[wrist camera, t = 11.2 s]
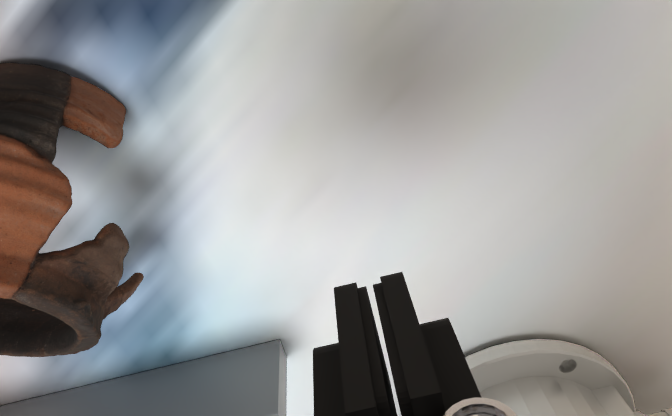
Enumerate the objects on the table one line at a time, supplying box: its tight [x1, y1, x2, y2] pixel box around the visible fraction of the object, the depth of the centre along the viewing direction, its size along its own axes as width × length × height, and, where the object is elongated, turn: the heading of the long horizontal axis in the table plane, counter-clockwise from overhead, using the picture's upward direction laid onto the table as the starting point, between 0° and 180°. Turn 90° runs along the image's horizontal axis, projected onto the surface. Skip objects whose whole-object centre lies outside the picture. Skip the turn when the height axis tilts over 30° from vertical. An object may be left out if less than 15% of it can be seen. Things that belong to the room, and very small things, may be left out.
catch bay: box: [0, 339, 287, 416], centre depth 20 cm, size 16×19×4 cm
